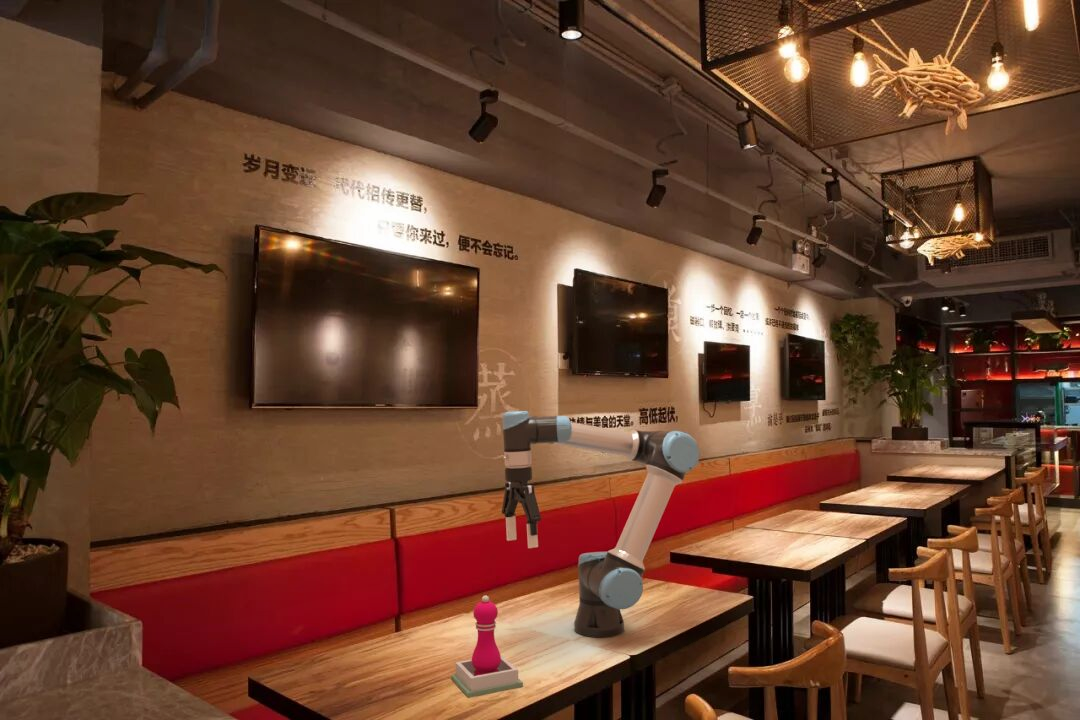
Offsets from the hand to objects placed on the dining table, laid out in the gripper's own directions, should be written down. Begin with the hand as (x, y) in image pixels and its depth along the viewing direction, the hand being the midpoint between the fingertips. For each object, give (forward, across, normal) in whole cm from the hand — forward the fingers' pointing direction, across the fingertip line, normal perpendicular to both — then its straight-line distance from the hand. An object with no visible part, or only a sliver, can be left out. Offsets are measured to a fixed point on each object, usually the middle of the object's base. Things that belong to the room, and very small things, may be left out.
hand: (522, 543), depth 193 cm
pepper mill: (+29, +13, -18) cm, 36 cm away
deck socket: (+29, +13, -18) cm, 37 cm away
